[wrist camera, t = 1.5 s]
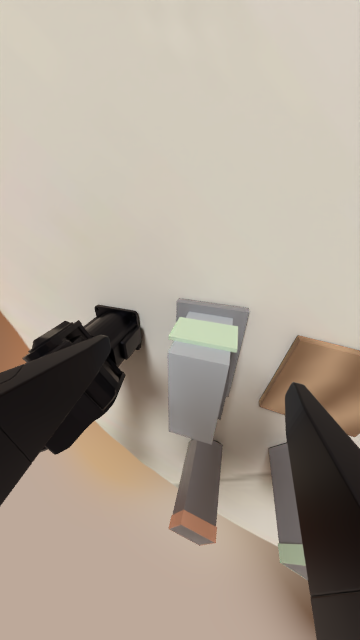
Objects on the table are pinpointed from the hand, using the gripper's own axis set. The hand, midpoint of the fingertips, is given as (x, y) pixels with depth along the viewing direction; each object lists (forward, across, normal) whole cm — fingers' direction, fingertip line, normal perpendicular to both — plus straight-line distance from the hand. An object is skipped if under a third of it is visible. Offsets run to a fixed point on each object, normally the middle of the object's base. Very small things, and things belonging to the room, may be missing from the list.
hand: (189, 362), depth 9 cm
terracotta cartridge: (+13, -2, +34) cm, 36 cm away
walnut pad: (+13, -15, +12) cm, 23 cm away
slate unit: (+13, 0, +10) cm, 16 cm away
